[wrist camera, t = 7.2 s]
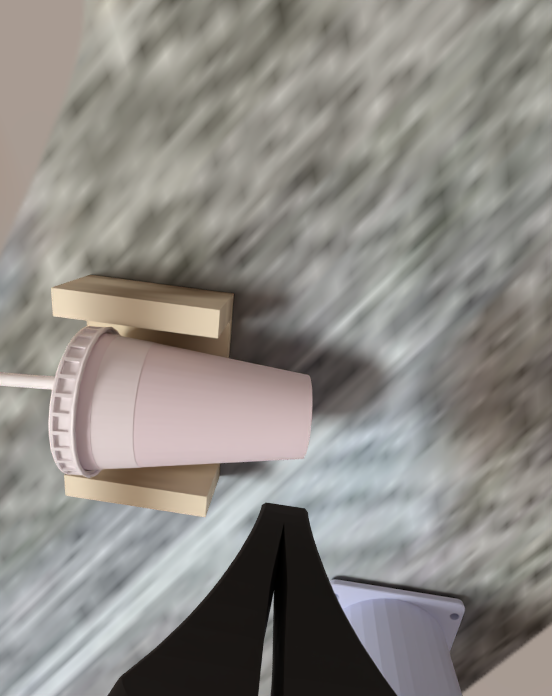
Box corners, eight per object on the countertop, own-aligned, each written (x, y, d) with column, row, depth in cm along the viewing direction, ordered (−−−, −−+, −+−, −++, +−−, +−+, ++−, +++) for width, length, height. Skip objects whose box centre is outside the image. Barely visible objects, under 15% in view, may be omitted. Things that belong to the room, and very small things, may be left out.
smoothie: (324, 340, 16) (-70, 304, 15) (310, 514, 15) (-94, 489, 14) (301, 348, 22) (25, 322, 21) (290, 471, 22) (10, 451, 21)
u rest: (234, 293, 20) (219, 310, 17) (219, 476, 23) (205, 517, 20) (90, 274, 20) (51, 287, 17) (97, 457, 24) (65, 495, 21)
